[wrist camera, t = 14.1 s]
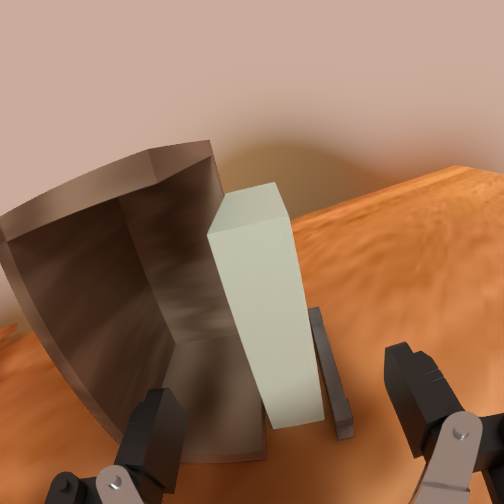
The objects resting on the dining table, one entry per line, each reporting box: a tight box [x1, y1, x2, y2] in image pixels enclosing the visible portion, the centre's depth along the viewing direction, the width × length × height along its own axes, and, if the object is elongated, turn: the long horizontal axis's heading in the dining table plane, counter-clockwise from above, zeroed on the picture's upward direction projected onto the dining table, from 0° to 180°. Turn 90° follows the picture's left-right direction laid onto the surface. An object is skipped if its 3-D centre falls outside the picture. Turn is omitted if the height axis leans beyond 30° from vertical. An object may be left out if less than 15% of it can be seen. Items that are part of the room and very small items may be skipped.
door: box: [207, 182, 325, 429], centre depth 19 cm, size 4×9×14 cm, turn 1°
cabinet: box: [0, 140, 354, 464], centre depth 19 cm, size 15×14×18 cm
